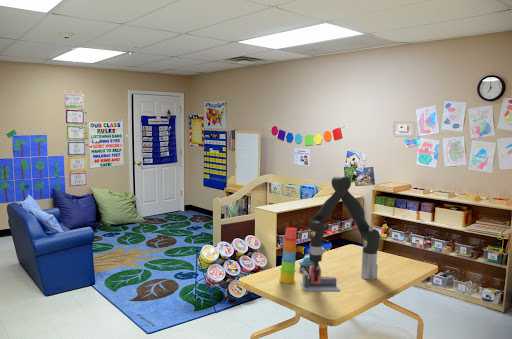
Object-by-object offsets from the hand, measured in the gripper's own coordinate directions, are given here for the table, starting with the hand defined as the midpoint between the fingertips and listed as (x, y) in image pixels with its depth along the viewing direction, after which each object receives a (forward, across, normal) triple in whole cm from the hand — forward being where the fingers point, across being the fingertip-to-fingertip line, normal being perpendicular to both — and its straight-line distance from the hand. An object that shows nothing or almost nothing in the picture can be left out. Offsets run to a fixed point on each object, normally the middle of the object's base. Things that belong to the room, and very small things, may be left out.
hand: (314, 279), depth 244 cm
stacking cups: (+5, +9, +16) cm, 19 cm away
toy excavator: (+5, +28, -3) cm, 29 cm away
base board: (+5, 0, -3) cm, 6 cm away
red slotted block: (+2, 0, 0) cm, 2 cm away
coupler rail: (+5, 0, -3) cm, 6 cm away
